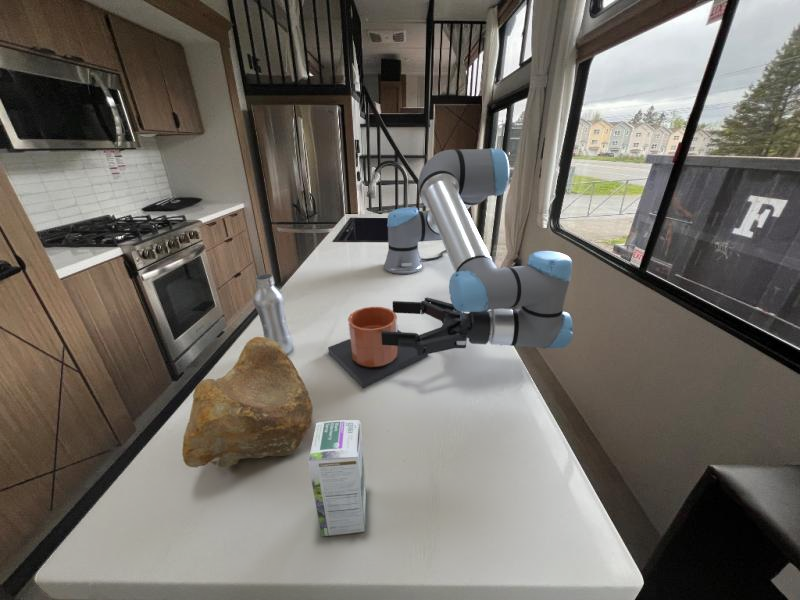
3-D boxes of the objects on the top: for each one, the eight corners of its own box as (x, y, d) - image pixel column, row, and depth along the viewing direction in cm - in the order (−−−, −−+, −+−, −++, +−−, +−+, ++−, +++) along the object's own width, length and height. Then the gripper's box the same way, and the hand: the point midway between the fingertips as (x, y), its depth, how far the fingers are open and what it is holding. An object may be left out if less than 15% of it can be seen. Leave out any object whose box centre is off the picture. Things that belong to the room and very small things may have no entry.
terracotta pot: (381, 338, 81) (379, 302, 76) (406, 357, 73) (406, 319, 69) (344, 353, 75) (339, 315, 71) (367, 376, 68) (364, 335, 63)
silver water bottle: (300, 347, 81) (286, 272, 73) (283, 362, 76) (265, 284, 67) (278, 342, 83) (262, 270, 75) (260, 357, 78) (241, 280, 69)
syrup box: (326, 494, 47) (312, 421, 41) (367, 490, 47) (360, 417, 41) (321, 537, 42) (304, 460, 35) (367, 533, 42) (358, 456, 36)
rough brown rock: (287, 510, 46) (278, 432, 40) (175, 494, 47) (149, 415, 41) (333, 398, 67) (332, 336, 61) (255, 388, 68) (247, 326, 62)
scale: (389, 328, 89) (388, 317, 87) (429, 356, 77) (429, 343, 75) (328, 353, 79) (326, 341, 77) (363, 388, 67) (362, 375, 65)
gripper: (494, 379, 58) (377, 371, 60) (481, 313, 80) (396, 309, 83) (498, 344, 54) (375, 337, 57) (484, 286, 76) (396, 282, 79)
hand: (387, 321), depth 70 cm, fingers open, 13 cm apart
